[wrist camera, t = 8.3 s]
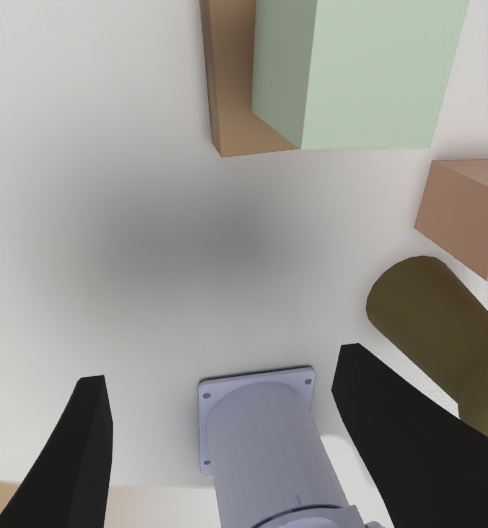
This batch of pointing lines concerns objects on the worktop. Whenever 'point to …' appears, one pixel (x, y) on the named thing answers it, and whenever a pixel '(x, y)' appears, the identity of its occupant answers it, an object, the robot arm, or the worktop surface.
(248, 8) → the walnut board
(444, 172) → the terracotta block
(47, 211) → the worktop surface
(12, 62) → the worktop surface
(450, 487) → the robot arm
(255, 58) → the sage block
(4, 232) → the worktop surface
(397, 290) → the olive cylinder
